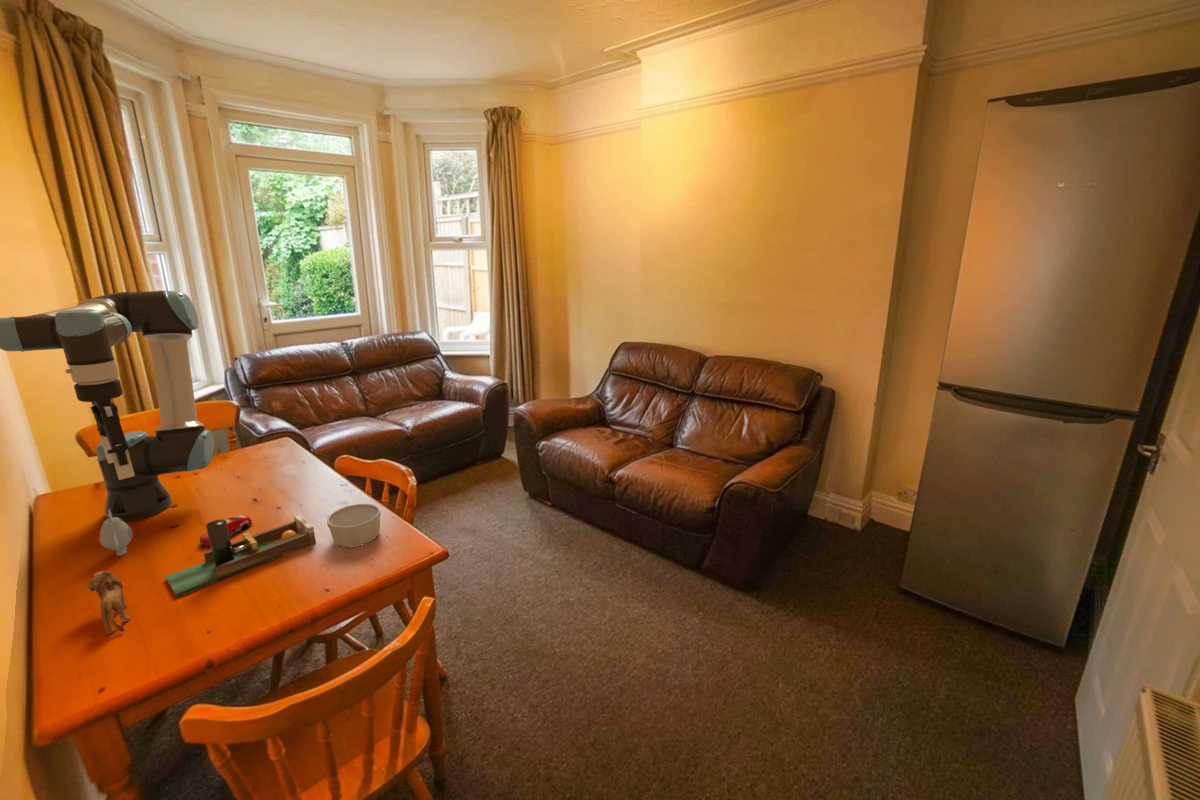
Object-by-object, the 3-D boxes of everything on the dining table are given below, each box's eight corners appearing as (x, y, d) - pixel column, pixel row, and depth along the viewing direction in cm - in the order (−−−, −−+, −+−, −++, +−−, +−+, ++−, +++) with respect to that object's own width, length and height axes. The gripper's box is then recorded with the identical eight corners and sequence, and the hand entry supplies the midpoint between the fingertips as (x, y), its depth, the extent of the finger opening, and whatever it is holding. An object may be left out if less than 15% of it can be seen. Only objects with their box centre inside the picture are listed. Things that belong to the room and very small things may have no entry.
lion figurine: (92, 610, 116) (80, 574, 113) (123, 598, 120) (113, 563, 117) (108, 640, 107) (96, 602, 105) (141, 625, 111) (131, 589, 109)
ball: (282, 543, 142) (276, 533, 140) (296, 535, 144) (290, 525, 142) (287, 548, 140) (281, 538, 138) (301, 540, 142) (295, 530, 140)
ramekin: (322, 537, 145) (318, 515, 143) (370, 520, 154) (367, 498, 152) (342, 556, 136) (339, 532, 134) (391, 536, 145) (389, 514, 143)
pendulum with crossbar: (211, 561, 131) (202, 521, 128) (250, 547, 137) (242, 509, 134) (219, 572, 127) (210, 531, 124) (260, 557, 133) (252, 518, 130)
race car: (210, 550, 139) (206, 536, 138) (195, 546, 141) (192, 533, 140) (256, 525, 151) (253, 513, 150) (242, 522, 153) (239, 510, 151)
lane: (166, 579, 126) (161, 561, 125) (301, 530, 148) (298, 514, 147) (176, 597, 120) (171, 578, 118) (316, 543, 142) (313, 526, 140)
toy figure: (137, 557, 135) (125, 515, 132) (104, 566, 131) (91, 523, 128) (136, 540, 143) (125, 500, 139) (105, 548, 139) (93, 507, 135)
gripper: (65, 374, 122) (90, 459, 128) (81, 394, 106) (109, 490, 112) (109, 369, 127) (131, 451, 133) (130, 387, 112) (153, 479, 118)
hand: (121, 469), depth 123 cm, fingers open, 13 cm apart
